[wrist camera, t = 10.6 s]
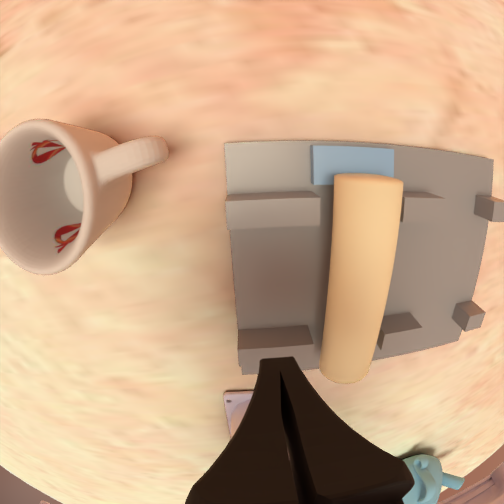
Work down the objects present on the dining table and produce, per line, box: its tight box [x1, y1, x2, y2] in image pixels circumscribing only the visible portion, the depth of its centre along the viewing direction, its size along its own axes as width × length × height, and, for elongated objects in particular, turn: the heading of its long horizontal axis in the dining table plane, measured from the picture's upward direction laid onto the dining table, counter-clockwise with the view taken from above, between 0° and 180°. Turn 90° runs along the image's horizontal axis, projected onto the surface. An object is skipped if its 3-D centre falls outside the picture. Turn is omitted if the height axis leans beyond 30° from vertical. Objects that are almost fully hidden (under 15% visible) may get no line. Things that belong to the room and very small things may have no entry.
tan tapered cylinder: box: [319, 173, 403, 384], centre depth 18 cm, size 14×4×4 cm, turn 3°
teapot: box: [402, 454, 465, 504], centre depth 30 cm, size 20×20×13 cm
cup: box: [0, 119, 169, 275], centre depth 14 cm, size 11×8×8 cm
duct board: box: [224, 141, 504, 375], centre depth 20 cm, size 18×22×3 cm
